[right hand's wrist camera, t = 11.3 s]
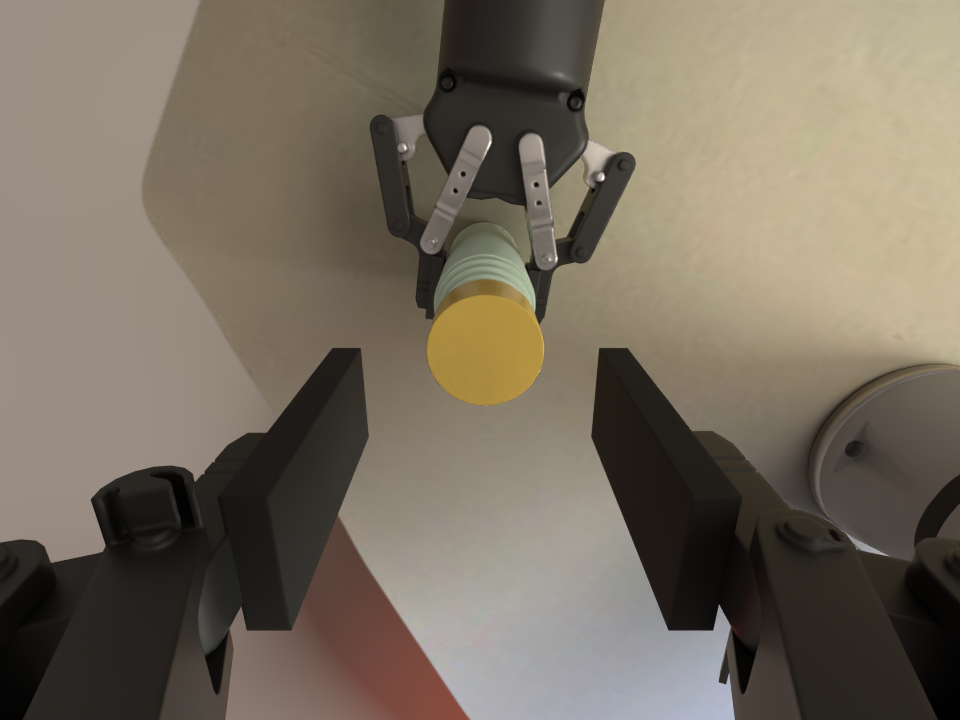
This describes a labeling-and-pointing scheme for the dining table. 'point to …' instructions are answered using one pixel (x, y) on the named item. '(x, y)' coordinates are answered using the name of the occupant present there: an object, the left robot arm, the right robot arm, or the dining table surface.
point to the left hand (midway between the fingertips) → (478, 321)
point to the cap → (485, 343)
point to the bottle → (484, 261)
